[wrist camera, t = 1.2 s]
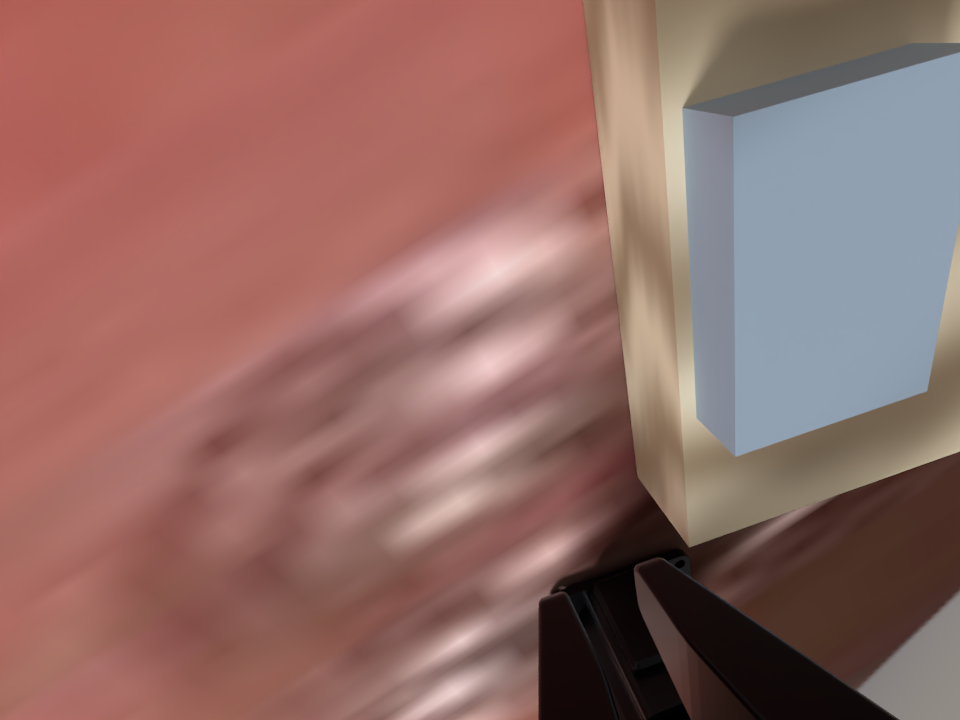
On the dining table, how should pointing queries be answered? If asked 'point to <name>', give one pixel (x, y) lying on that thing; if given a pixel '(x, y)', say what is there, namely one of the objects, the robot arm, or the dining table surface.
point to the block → (821, 241)
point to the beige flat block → (665, 251)
